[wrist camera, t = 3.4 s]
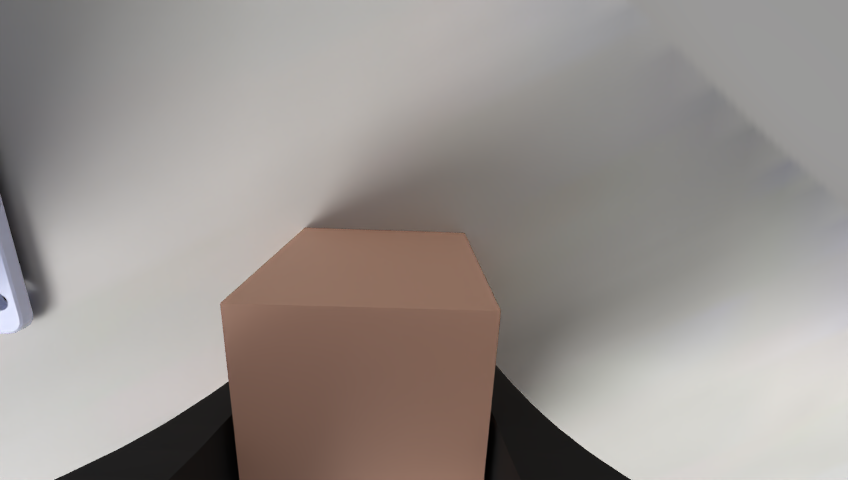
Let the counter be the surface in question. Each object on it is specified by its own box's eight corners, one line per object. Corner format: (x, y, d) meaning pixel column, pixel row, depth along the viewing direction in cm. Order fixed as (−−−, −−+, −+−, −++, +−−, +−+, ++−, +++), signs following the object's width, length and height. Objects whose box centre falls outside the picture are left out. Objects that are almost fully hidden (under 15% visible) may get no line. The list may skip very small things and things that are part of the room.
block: (304, 227, 11) (219, 303, 6) (464, 232, 11) (500, 311, 6) (314, 458, 13) (257, 646, 8) (448, 460, 13) (466, 646, 9)
